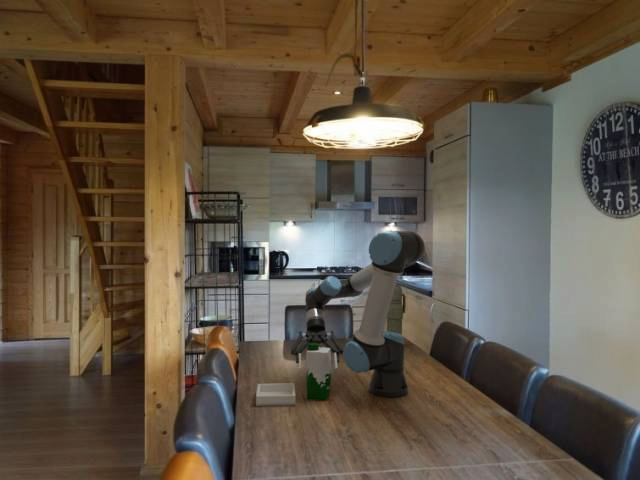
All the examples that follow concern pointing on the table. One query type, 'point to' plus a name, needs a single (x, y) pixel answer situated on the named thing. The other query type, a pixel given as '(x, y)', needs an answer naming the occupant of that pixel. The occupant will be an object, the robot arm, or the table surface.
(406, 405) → the table surface
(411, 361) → the table surface
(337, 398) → the table surface
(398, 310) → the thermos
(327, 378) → the soya milk
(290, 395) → the square holder
